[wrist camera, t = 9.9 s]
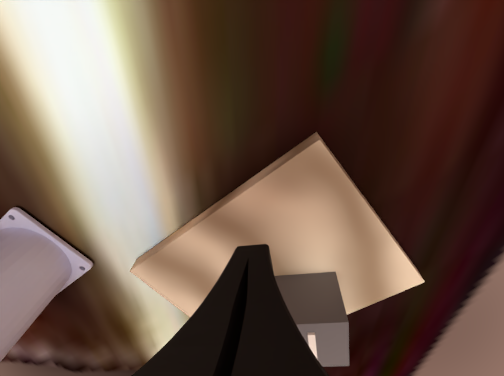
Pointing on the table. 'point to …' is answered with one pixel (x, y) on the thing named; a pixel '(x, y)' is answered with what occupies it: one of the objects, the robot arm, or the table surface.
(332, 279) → the grey cube
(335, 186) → the board
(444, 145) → the table surface
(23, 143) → the table surface
